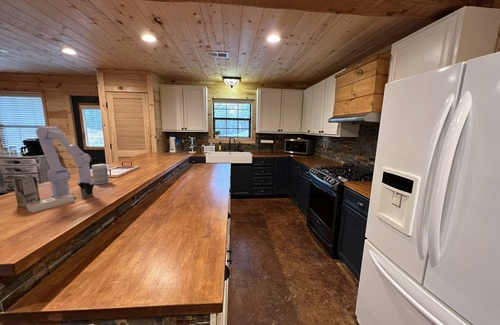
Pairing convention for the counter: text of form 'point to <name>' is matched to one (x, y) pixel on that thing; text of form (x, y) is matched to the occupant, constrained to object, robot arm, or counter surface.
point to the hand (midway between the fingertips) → (87, 193)
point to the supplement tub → (100, 173)
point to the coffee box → (26, 190)
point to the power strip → (50, 203)
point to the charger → (85, 193)
